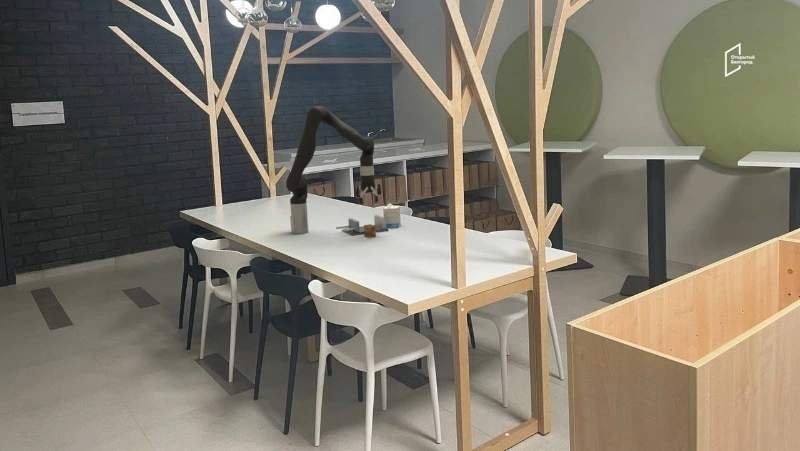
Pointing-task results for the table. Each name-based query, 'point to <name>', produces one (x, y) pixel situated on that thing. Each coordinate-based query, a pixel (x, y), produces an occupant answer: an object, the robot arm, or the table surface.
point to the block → (369, 231)
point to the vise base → (379, 224)
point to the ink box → (392, 216)
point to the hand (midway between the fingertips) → (368, 203)
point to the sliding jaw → (351, 225)
